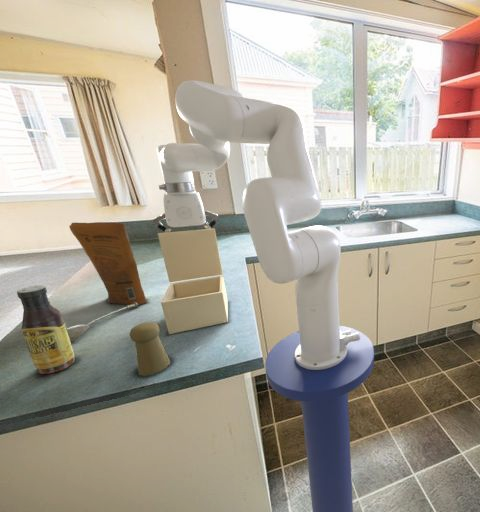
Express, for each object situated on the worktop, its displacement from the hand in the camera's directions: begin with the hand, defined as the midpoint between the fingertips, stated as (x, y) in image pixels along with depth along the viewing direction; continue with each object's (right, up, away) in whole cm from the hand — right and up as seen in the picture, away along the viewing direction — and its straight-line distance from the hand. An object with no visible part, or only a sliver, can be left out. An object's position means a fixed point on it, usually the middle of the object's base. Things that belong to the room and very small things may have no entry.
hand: (191, 242), depth 94 cm
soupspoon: (-22, -24, -8) cm, 34 cm away
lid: (+2, -4, -3) cm, 5 cm away
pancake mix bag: (-27, -20, +6) cm, 34 cm away
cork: (+8, -30, -25) cm, 40 cm away
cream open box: (+5, -23, -3) cm, 24 cm away
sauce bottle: (-14, -30, -25) cm, 42 cm away
